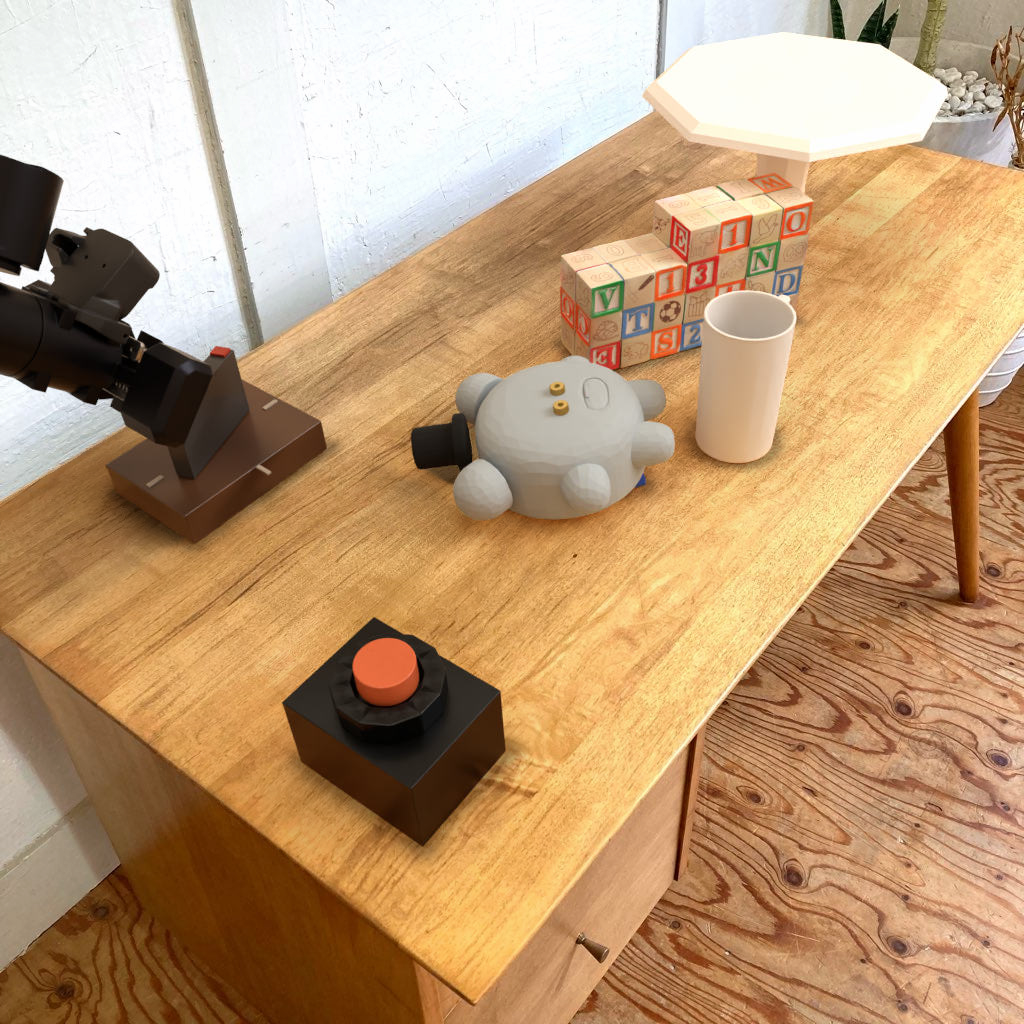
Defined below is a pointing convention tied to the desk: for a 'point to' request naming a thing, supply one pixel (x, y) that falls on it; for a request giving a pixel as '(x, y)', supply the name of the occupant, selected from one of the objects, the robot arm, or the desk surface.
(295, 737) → the button box
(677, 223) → the stack of blocks
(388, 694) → the button
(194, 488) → the dial panel
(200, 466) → the dial pointer
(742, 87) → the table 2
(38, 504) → the desk surface
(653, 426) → the figurine
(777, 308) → the mug
